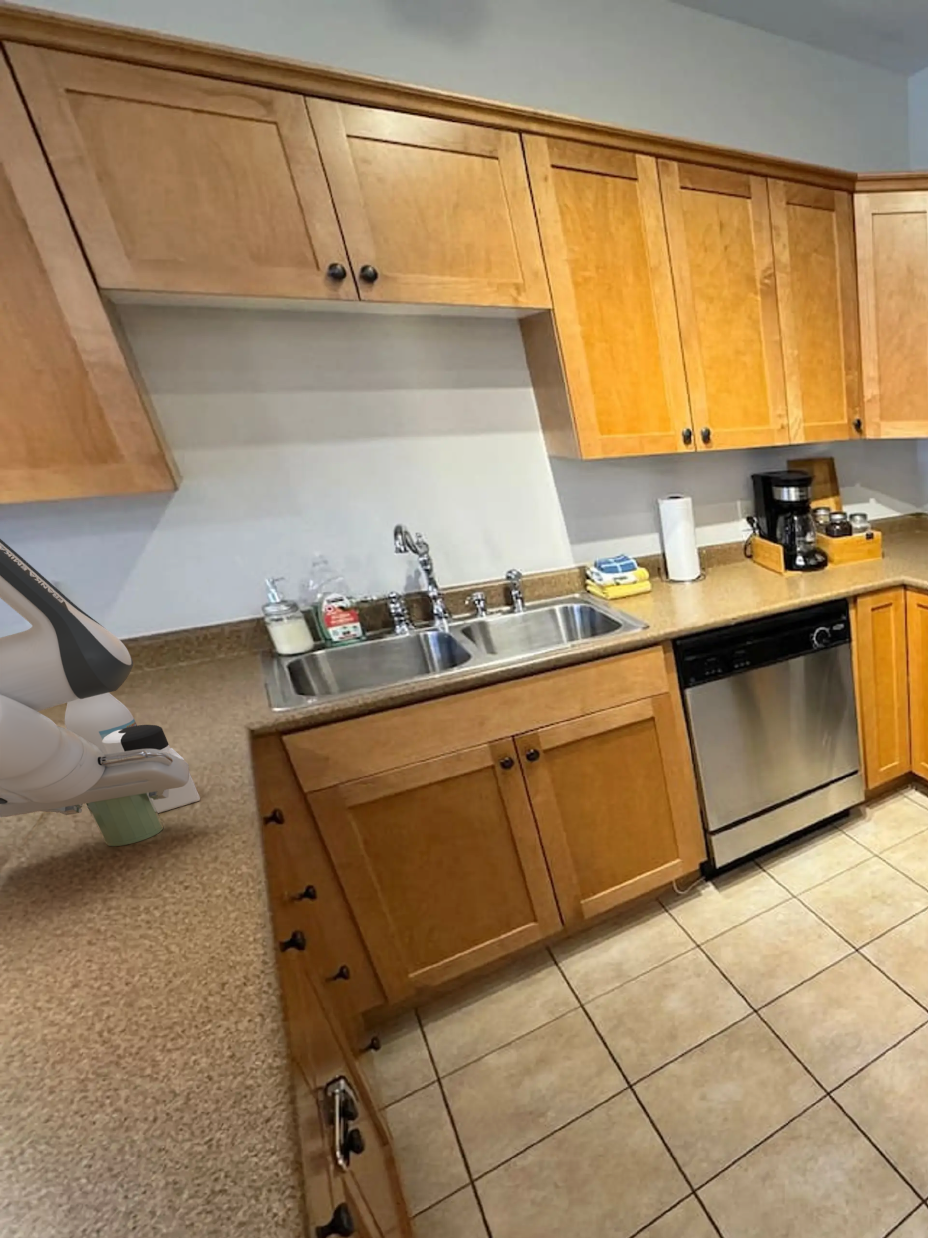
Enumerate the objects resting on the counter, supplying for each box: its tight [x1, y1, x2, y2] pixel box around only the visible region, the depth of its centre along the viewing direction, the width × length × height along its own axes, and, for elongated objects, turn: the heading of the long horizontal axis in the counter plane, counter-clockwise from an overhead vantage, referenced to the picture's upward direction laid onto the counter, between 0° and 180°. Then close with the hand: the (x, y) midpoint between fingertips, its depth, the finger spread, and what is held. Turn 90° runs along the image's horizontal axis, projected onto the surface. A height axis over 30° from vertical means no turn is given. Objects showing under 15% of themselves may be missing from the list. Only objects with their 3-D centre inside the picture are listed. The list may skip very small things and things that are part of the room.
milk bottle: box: [64, 692, 138, 755], centre depth 121 cm, size 8×8×20 cm
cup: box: [85, 793, 164, 847], centre depth 106 cm, size 6×6×10 cm
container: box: [102, 724, 201, 814], centre depth 115 cm, size 8×8×13 cm
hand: (119, 801), depth 106 cm, fingers open, 8 cm apart
